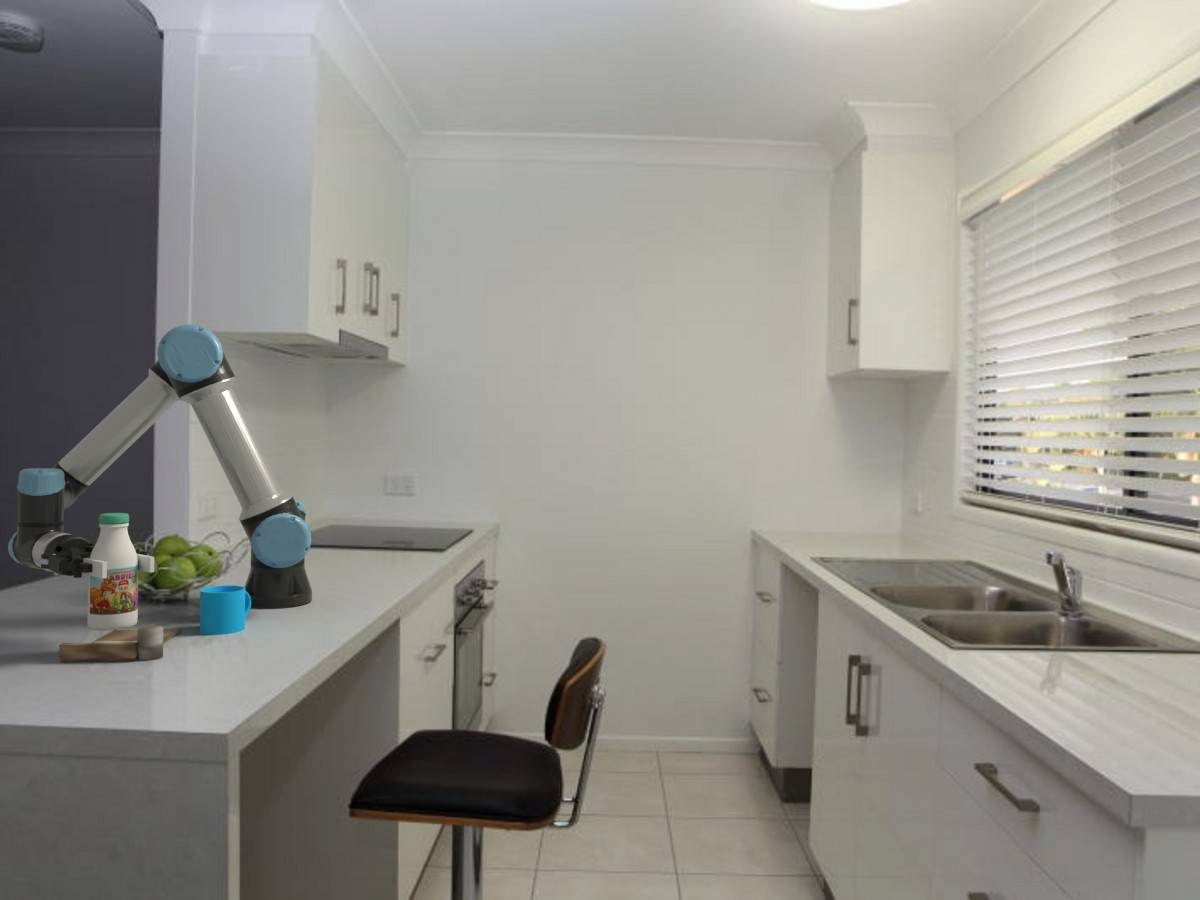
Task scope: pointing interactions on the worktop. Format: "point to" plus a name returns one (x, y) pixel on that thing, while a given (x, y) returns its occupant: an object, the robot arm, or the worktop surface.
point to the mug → (223, 609)
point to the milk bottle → (114, 577)
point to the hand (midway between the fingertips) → (128, 567)
